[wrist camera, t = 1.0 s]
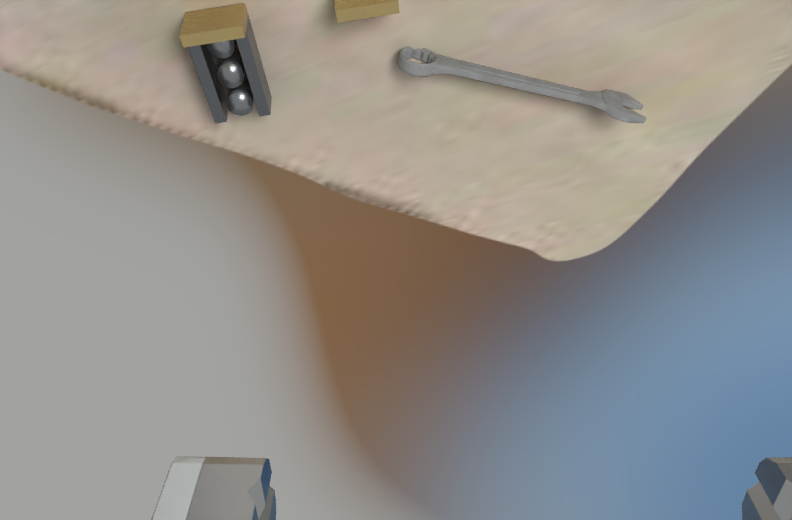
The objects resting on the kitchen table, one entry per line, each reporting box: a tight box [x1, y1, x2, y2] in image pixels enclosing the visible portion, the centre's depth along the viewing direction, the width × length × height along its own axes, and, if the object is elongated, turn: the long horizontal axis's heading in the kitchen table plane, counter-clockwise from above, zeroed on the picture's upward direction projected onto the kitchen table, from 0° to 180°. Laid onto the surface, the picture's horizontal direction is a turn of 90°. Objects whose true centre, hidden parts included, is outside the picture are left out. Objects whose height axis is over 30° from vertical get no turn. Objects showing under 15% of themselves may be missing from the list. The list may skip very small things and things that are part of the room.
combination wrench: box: [397, 47, 646, 123], centre depth 50 cm, size 4×1×20 cm
